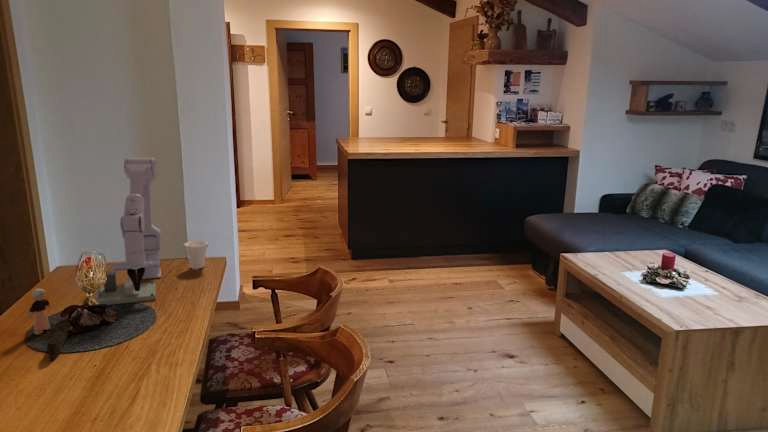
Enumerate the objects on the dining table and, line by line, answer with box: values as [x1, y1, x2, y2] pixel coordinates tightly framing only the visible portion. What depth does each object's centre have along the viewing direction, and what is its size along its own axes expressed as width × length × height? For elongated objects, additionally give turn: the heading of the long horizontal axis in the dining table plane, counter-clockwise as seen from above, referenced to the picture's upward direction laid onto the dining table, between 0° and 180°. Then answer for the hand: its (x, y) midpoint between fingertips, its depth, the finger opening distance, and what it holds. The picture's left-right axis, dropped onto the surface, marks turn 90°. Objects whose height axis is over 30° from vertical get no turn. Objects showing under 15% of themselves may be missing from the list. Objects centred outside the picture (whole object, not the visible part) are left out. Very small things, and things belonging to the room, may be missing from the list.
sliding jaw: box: [124, 276, 134, 296], centre depth 184 cm, size 10×2×3 cm, turn 22°
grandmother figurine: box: [27, 287, 52, 335], centre depth 157 cm, size 8×4×13 cm, turn 179°
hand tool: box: [47, 319, 70, 362], centre depth 149 cm, size 19×4×5 cm, turn 17°
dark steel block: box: [103, 270, 118, 293], centre depth 185 cm, size 4×4×6 cm
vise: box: [86, 281, 157, 306], centre depth 184 cm, size 13×20×5 cm, turn 112°
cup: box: [182, 240, 209, 270], centre depth 213 cm, size 9×9×10 cm
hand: (137, 290), depth 183 cm, fingers closed
